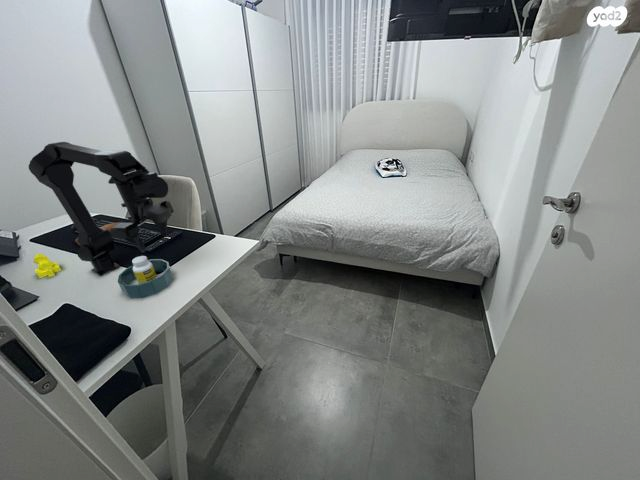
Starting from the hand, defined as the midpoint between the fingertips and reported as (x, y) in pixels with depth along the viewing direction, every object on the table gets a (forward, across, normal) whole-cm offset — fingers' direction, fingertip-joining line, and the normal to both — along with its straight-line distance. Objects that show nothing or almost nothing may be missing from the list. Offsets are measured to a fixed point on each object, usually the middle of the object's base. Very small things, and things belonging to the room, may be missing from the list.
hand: (155, 243), depth 82 cm
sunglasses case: (+10, +23, +52) cm, 58 cm away
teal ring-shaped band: (+13, -4, +5) cm, 14 cm away
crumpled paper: (+11, -4, +46) cm, 47 cm away
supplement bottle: (+13, -4, +5) cm, 15 cm away
